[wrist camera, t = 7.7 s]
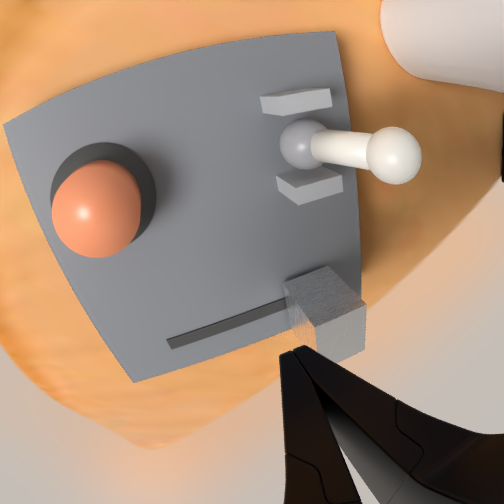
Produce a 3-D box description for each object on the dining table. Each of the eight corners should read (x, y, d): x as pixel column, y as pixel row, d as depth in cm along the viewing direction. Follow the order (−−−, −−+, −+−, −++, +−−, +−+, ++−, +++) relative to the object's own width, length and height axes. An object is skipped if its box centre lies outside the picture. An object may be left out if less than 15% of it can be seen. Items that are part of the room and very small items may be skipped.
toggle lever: (300, 113, 12) (430, 121, 8) (308, 158, 13) (431, 181, 9) (264, 124, 11) (403, 132, 7) (273, 173, 12) (405, 203, 8)
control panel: (313, 37, 13) (361, 24, 9) (344, 281, 20) (379, 317, 17) (20, 120, 10) (-20, 130, 7) (132, 358, 18) (135, 410, 14)
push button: (126, 147, 11) (122, 154, 9) (152, 223, 12) (153, 240, 11) (50, 178, 10) (38, 189, 9) (81, 250, 12) (74, 269, 10)
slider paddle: (327, 265, 16) (366, 304, 13) (331, 309, 17) (364, 349, 14) (282, 282, 15) (314, 327, 12) (290, 326, 17) (319, 371, 14)
